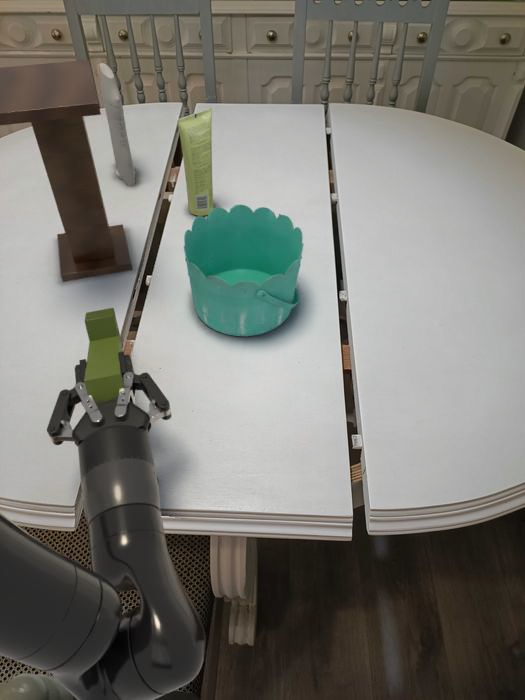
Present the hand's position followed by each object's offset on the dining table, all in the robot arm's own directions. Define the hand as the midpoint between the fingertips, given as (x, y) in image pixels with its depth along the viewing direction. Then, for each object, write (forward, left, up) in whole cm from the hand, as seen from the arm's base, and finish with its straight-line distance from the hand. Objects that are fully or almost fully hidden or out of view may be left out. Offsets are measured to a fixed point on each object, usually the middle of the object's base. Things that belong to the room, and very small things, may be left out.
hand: (102, 360), depth 66 cm
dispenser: (+9, +62, -12) cm, 64 cm away
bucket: (+23, +17, -12) cm, 31 cm away
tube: (+22, +45, -12) cm, 52 cm away
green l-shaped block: (0, +2, -5) cm, 5 cm away
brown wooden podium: (0, +33, -12) cm, 35 cm away
